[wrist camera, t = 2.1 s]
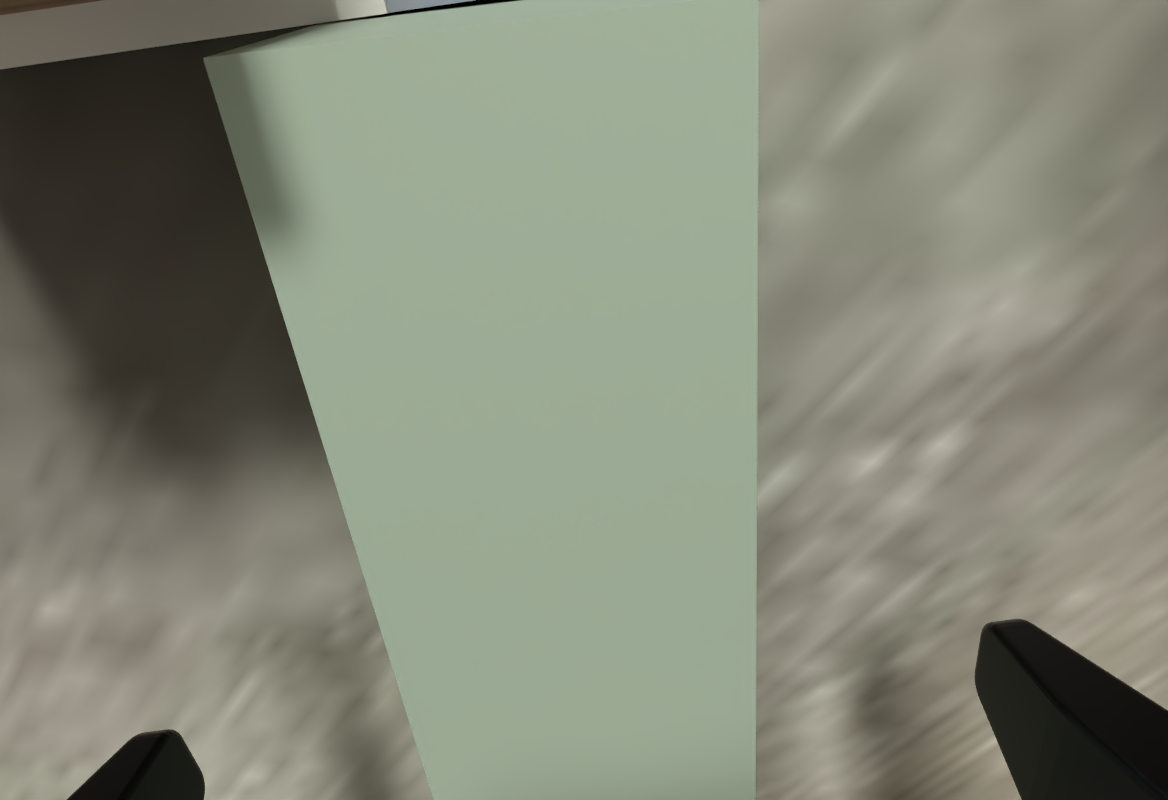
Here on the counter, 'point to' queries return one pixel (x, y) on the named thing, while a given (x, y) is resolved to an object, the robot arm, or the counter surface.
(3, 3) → the tan wood block
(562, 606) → the plank
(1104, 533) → the counter surface
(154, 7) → the mat
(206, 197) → the counter surface
